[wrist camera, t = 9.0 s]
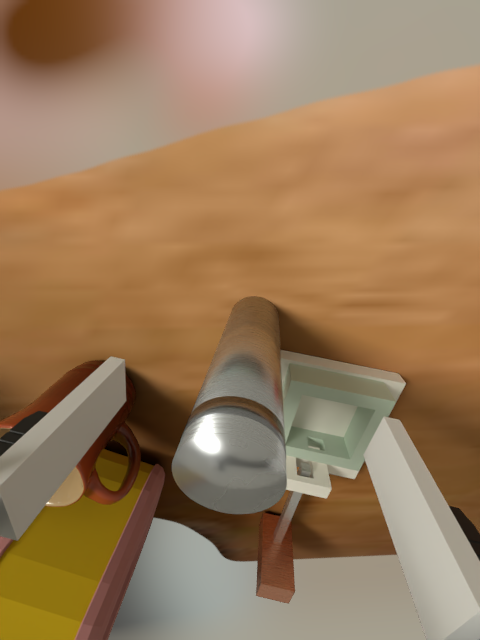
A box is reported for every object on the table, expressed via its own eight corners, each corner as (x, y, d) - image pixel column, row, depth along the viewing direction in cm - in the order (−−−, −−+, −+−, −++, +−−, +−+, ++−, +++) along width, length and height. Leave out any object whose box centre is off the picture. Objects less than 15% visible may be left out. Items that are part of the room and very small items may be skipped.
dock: (398, 373, 24) (423, 406, 20) (350, 466, 29) (362, 506, 25) (270, 347, 24) (269, 374, 21) (246, 443, 30) (242, 479, 26)
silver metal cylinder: (226, 336, 24) (168, 500, 11) (234, 291, 23) (174, 423, 9) (273, 345, 24) (273, 524, 11) (284, 301, 22) (301, 450, 9)
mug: (57, 382, 30) (-42, 464, 20) (92, 334, 26) (-8, 405, 17) (143, 441, 32) (89, 539, 22) (185, 403, 29) (142, 499, 19)
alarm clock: (151, 526, 39) (51, 787, 22) (81, 504, 39) (-77, 749, 21) (176, 447, 32) (53, 752, 14) (89, 418, 31) (-147, 692, 14)
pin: (319, 449, 28) (333, 521, 22) (285, 530, 35) (288, 603, 28) (287, 442, 28) (290, 511, 22) (259, 524, 35) (256, 595, 29)
